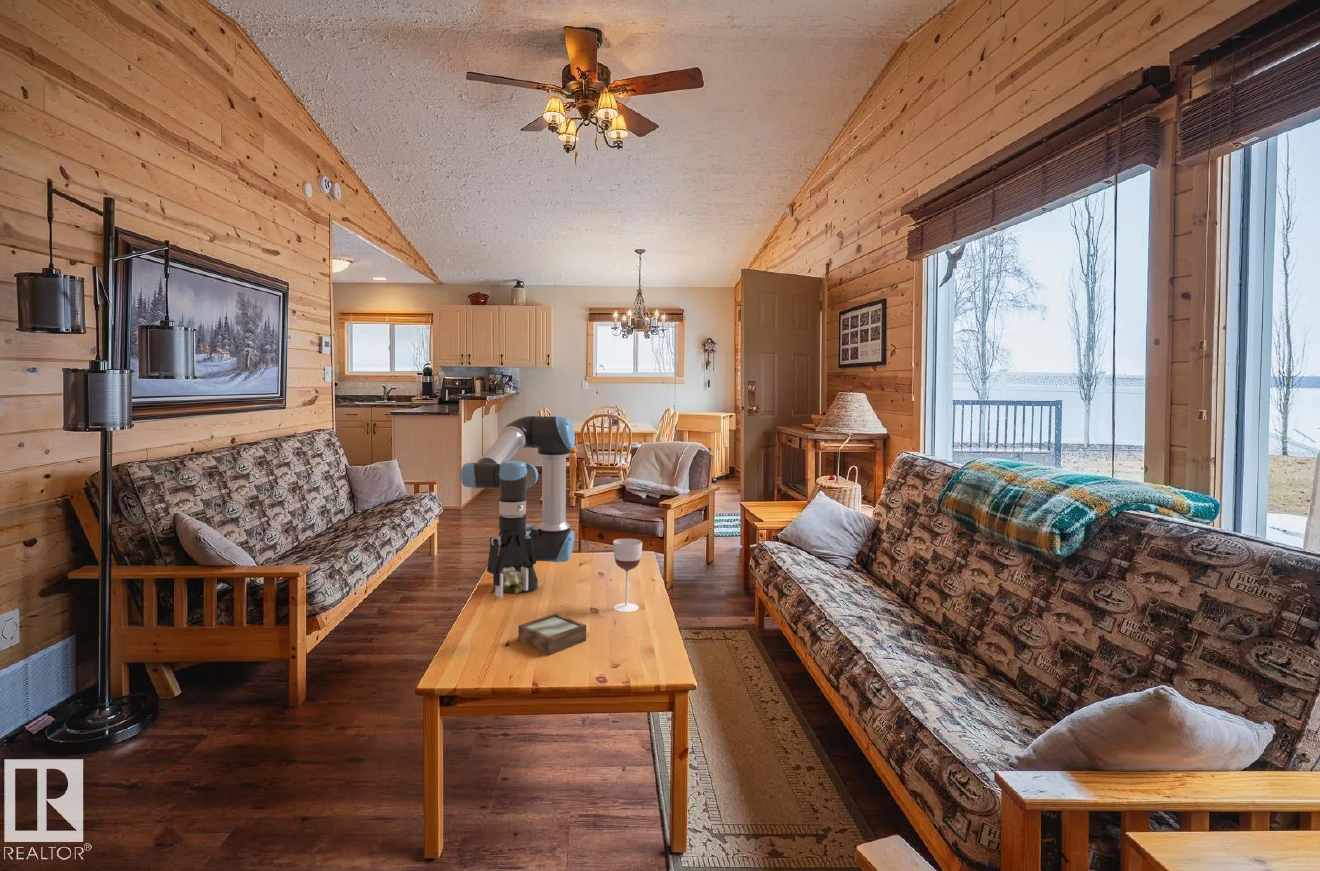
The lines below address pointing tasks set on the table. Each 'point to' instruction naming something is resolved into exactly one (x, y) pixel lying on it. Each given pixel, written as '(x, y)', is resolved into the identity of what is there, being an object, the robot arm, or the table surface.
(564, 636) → the stand
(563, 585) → the table surface
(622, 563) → the wineglass
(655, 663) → the table surface
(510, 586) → the fruit
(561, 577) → the table surface
